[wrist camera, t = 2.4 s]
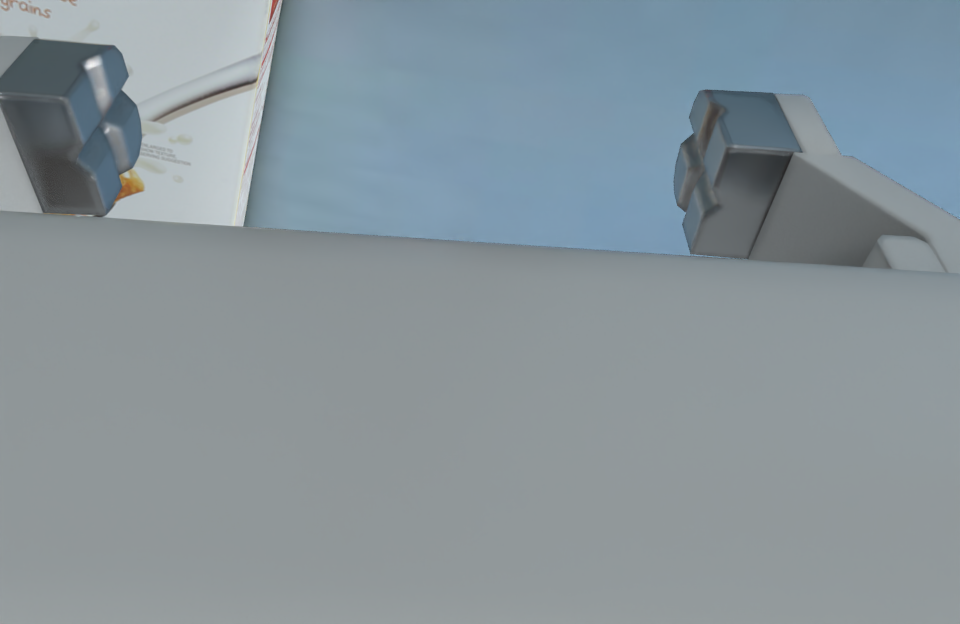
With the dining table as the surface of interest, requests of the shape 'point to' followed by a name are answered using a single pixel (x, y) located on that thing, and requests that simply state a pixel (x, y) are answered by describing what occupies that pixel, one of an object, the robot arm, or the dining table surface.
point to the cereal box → (176, 94)
